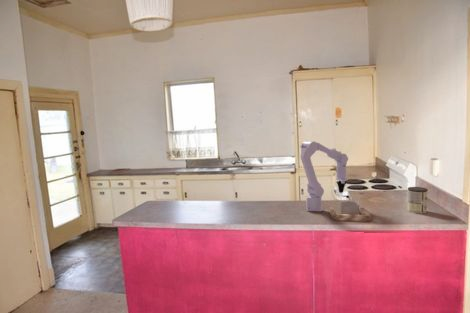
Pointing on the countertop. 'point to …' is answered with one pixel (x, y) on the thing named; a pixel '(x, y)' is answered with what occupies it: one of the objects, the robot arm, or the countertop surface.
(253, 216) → the countertop surface
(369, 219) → the wooden bay
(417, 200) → the coffee can
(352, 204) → the teacup
